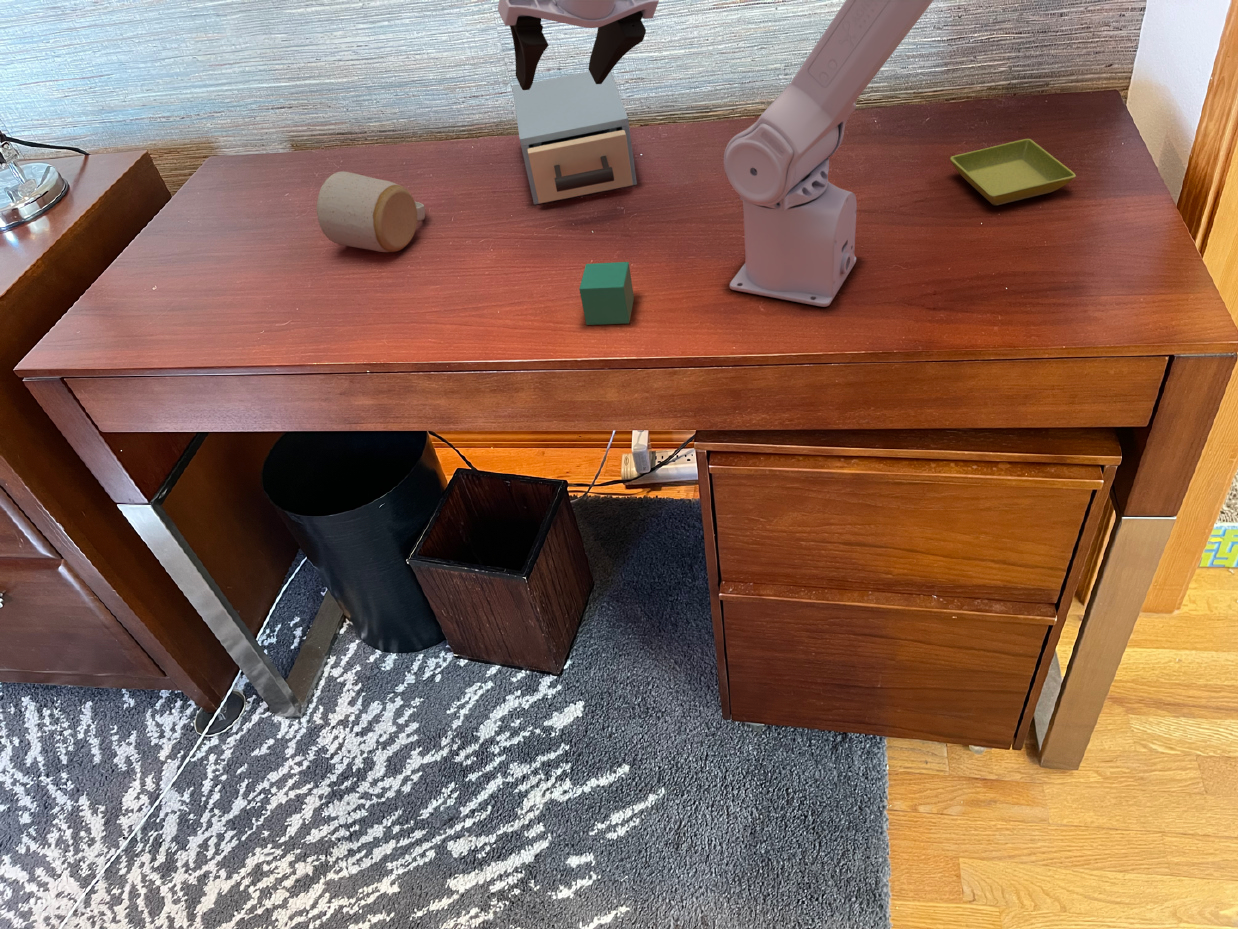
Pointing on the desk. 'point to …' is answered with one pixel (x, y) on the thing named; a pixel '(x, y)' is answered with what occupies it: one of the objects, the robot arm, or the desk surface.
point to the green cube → (607, 293)
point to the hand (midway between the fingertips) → (559, 79)
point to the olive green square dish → (1012, 171)
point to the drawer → (580, 164)
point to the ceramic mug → (367, 212)
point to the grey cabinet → (568, 113)
